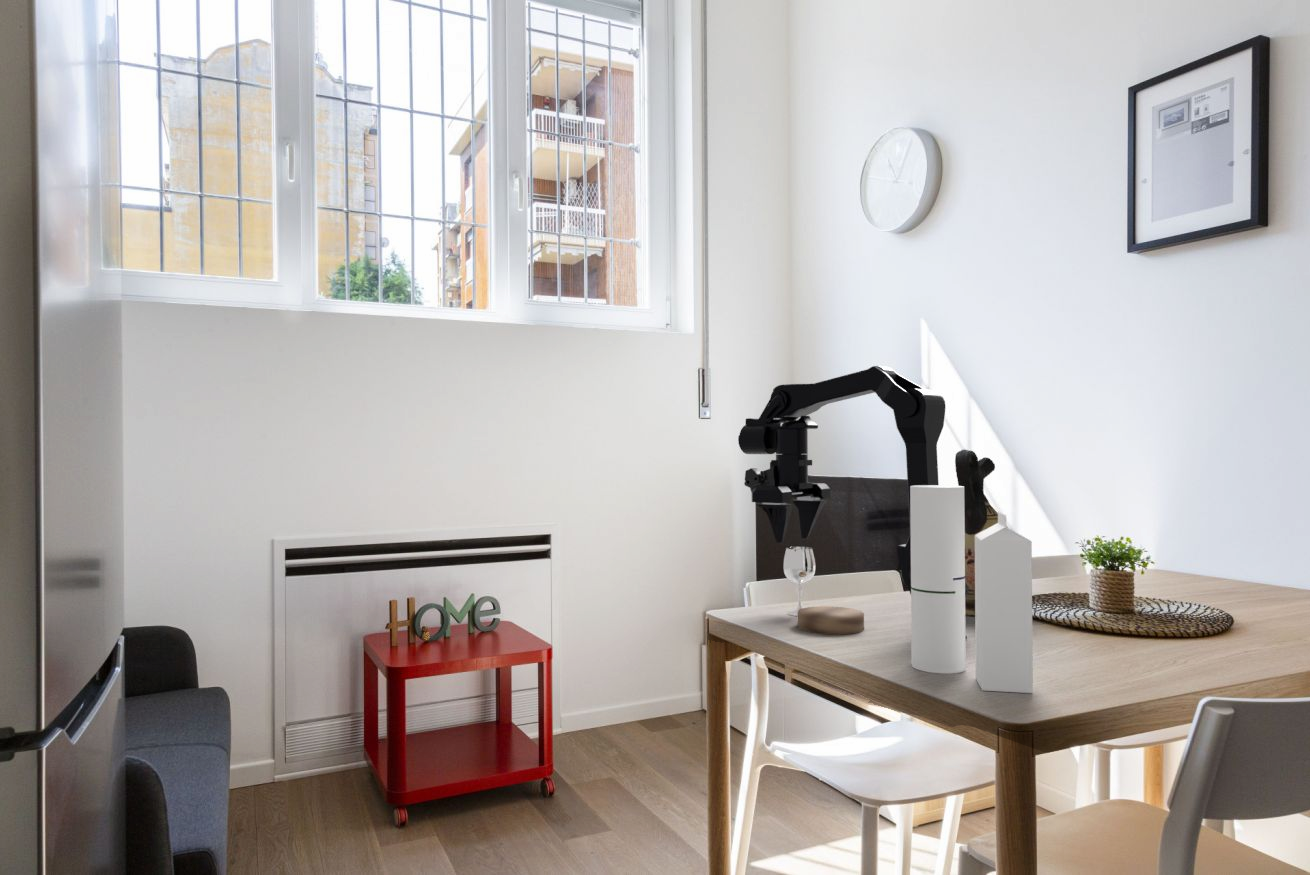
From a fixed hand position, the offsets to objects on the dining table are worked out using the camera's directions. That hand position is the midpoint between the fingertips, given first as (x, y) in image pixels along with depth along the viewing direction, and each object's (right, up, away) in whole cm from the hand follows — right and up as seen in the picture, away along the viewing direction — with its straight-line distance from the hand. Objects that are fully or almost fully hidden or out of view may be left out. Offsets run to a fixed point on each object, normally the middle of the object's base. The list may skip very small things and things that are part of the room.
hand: (792, 540), depth 155 cm
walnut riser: (+5, -13, -10) cm, 18 cm away
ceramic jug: (+34, -14, +2) cm, 37 cm away
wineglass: (+2, -14, +1) cm, 14 cm away
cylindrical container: (+14, -13, -36) cm, 41 cm away
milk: (+20, -13, -46) cm, 52 cm away
